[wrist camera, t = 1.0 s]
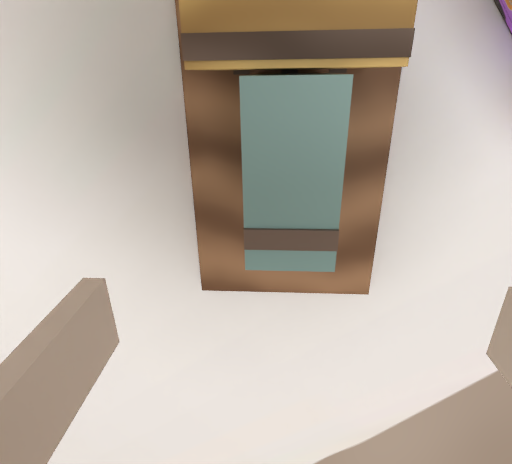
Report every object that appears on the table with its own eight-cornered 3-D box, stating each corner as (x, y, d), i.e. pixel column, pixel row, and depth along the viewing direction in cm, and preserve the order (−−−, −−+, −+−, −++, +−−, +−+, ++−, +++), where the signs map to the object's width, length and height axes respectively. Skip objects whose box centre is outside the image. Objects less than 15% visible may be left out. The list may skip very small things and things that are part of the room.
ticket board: (176, -32, 24) (111, -98, 15) (411, -40, 23) (501, -116, 14) (204, 283, 35) (176, 361, 26) (365, 287, 34) (398, 369, 25)
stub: (255, 74, 25) (238, 76, 15) (324, 73, 25) (354, 74, 15) (256, 203, 30) (244, 272, 19) (315, 203, 29) (335, 273, 19)
